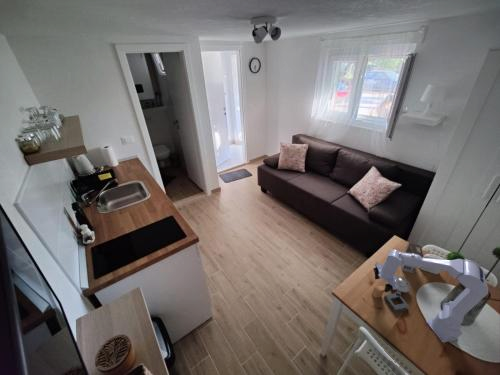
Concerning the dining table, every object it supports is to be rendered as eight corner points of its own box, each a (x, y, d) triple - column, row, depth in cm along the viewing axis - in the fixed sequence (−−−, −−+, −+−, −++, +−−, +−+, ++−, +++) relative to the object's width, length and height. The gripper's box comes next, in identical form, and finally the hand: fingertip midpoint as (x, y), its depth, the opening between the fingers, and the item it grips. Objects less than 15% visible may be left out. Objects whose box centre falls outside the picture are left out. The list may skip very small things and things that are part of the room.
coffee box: (413, 273, 130) (423, 256, 122) (401, 270, 133) (410, 253, 124) (411, 262, 137) (421, 245, 128) (399, 259, 140) (408, 242, 131)
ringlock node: (423, 306, 114) (428, 299, 110) (394, 312, 113) (398, 305, 109) (399, 278, 128) (403, 271, 125) (373, 283, 127) (376, 276, 123)
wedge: (381, 296, 120) (385, 289, 116) (374, 298, 119) (377, 291, 116) (378, 292, 122) (382, 285, 118) (371, 294, 121) (374, 286, 118)
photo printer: (437, 270, 132) (446, 257, 125) (438, 275, 128) (447, 262, 122) (417, 263, 136) (425, 250, 129) (418, 269, 133) (425, 256, 126)
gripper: (372, 258, 113) (366, 274, 121) (392, 283, 101) (383, 299, 109) (384, 256, 114) (377, 272, 121) (405, 280, 102) (396, 296, 109)
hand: (381, 284), depth 115 cm, fingers open, 7 cm apart
